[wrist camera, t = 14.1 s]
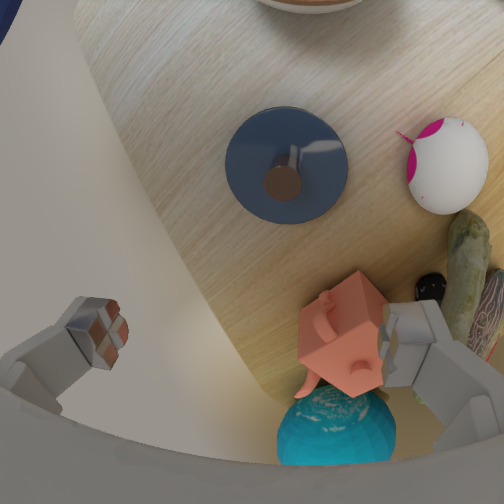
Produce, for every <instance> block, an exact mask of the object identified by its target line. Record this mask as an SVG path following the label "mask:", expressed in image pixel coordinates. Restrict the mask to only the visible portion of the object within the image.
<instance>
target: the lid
mask: <svg viewBox="0 0 504 504" xmlns="http://www.w3.org/2000/svg"><path fill="white" fill-rule="evenodd" d="M225 170H226V176H227V180H228V183H229V186H230V188H231V190H232V192H233V194H234V195H235V197H236V198H237V200H238V201H239V202H240V203H241V204H242V205H243V206H244V207H245V208H246V209H247V210H248V211H250V212H251V213H252V214H254V215H256V216H257V217H259V218H261V219H264V220H266V221H269V222H273V223H278V224H299V223H304V222H307V221H310V220H313V219H315V218H317V217H319V216H320V215H322V214H324V213H325V212H326V211H327V210H329V209H330V208H331V207H332V206H333V205H334V204H335V203H336V201H337V200H338V198H339V197H340V195H341V193H342V191H343V189H344V186H345V183H346V179H347V171H348V165H347V157H346V153H345V150H344V147H343V144H342V142H341V141H340V139H339V137H338V136H337V134H336V133H335V131H334V130H333V129H332V128H331V127H330V126H329V125H328V124H327V123H326V122H325V121H323V120H322V119H321V118H319V117H317V116H316V115H314V114H312V113H309V112H307V111H304V110H300V109H296V108H274V109H270V110H266V111H263V112H261V113H258V114H256V115H255V116H253V117H251V118H250V119H248V120H247V121H246V122H245V123H243V124H242V125H241V127H240V128H239V129H238V130H237V131H236V133H235V134H234V135H233V137H232V139H231V141H230V143H229V146H228V149H227V153H226V159H225Z"/></svg>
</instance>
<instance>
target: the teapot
mask: <svg viewBox="0 0 504 504" xmlns="http://www.w3.org/2000/svg"><path fill="white" fill-rule="evenodd" d="M385 303H389V302H388V301H387V300H386V299H385V298H384V296H383V295H382V294H381V293H380V292H379V291H378V290H377V289H376V288H375V287H374V285H373V284H372V283H371V282H370V281H369V280H368V279H367V278H366V277H365V276H364V275H363V274H362V272H361V271H360V270H358V271H357V272H355V273H354V274H352V275H351V276H350V277H348V278H347V279H345V280H344V281H342V282H341V283H340V284H338V285H337V286H335V287H334V288H332V289H331V290H326V291H323V292H321V293H320V295H319V298H318V299H316V300H315V301H313V302H312V303H310V304H309V305H307V306H306V307H304V308H303V309H301V312H300V329H299V345H298V359H297V360H298V361H300V362H301V363H302V364H304V365H305V366H306V367H308V372H307V377H306V380H305V383H304V385H303V386H302V388H301V389H300V390H299V391H298V392H297V393H296V394H295V395H294V397H295V398H302V397H305V396H307V395H308V394H310V393H311V392H312V391H313V389H314V388H315V387H316V385H317V384H318V382H319V380H320V378H321V377H322V378H323V379H325V380H326V381H328V382H329V383H331V384H332V385H334V386H335V387H337V388H338V389H340V390H341V391H343V392H344V393H346V394H347V395H349V396H350V397H352V398H354V397H356V396H358V395H361V394H363V393H365V392H367V391H369V390H372V389H374V388H376V387H378V386H380V385H381V386H384V385H383V379H382V373H381V367H382V364H383V360H382V359H380V358H379V355H378V348H377V337H378V330H379V325H380V324H381V323H383V322H384V321H383V317H382V311H383V307H384V305H385Z"/></svg>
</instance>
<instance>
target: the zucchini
mask: <svg viewBox="0 0 504 504" xmlns="http://www.w3.org/2000/svg"><path fill="white" fill-rule="evenodd" d="M491 251H492V245H491V244H490V243H489V229H488V227H487V225H486V224H485V222H484V221H483V220H482V219H481V218H480V217H479V216H478V215H477V214H475V213H473V212H471V211H469V210H467V209H463V210H461V212H460V213H459V214H458V216H457V217H456V218H455V220H454V221H453V222H452V223H451V225H450V227H449V230H448V235H447V252H448V262H447V275H448V277H447V284H446V288H445V295H444V298H443V301H442V304H441V307H440V310H441V312H442V315H443V317H444V319H445V321H446V324H447V326H448V328H449V331H450V333H451V335H452V338H453V340H459V341H460V342H461V343H463V344H464V345H465V346H466V347H467V344H468V336H469V333H470V329H471V326H472V323H473V320H474V316H475V312H476V310H477V308H478V305H479V302H480V298H481V293H482V291H483V287H484V284H485V278H486V271H487V267H488V263H489V260H490V256H491Z"/></svg>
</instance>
